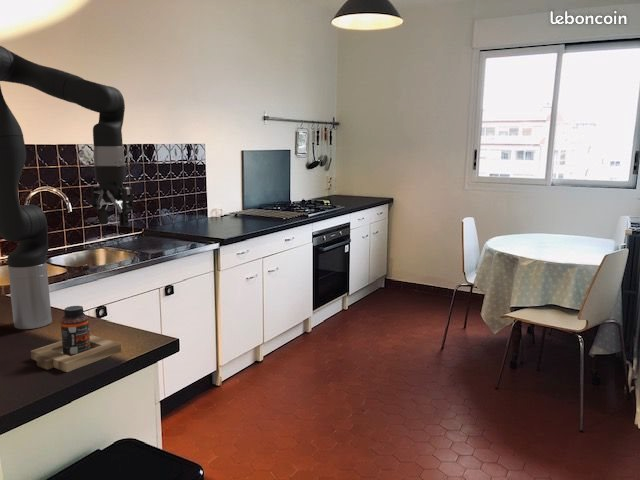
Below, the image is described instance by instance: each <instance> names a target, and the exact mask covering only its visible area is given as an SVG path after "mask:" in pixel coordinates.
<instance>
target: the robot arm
mask: <svg viewBox="0 0 640 480" xmlns="http://www.w3.org/2000/svg"><path fill="white" fill-rule="evenodd" d="M0 82H4V83H14V84H19V85H24V86H27V87H30V88H33V89H36V90H38V91H39V92H41V93H44V94H46V95H48V96H51V97H53V98H57V99H59V100H61V101H62V100H63V101H65V102H69V103H73V104H75V105H78V106H80V107H82V108H83V109H87V110H89V111H93V112H94V113H99V115H98V123H96V124H94V125H93V127H92V138H93V139H92V140H93V155H92V156H93V167H94V168H93V169H94V181H95V182H96V183H98V184H99V185H92V186H91V188H90V189H91V190H90V191H91V207H92V208H94V209H96V210H97V216H98V223H99V225H102V226H103V225H107V224H108V223H109V219H108V218H109V216H108V210H107V209H108V206H109V205H111V204H113V206H114V207H116V208H117V210H118V212H119V213H118V220H119V227H121V228H125V227H128V226H129V224H130V223H129V220H130V219H129V212H130V211H133V210H134V209H135V205H134V194H133V188H132V187H131V186H130V187H129V186H124V184H123V183H125V182H126V181H127V176H126V164H125V162H126V159H125V153H124V148H123V147H124V146H123V131H122V129H123V124H124V117H125V110H126V109H125V108H126V107H125V98H124V96H123V94H122V92H121V91H120V90H119V89H117V88H116V87H114V86H109V85H105V84H102V83H98V82H94V81H91V80H88V79H84V78H83V77H81V76H78V75H76V74H73V73H70V72H67V71H64V70H60V69H58V68H54V67H49V66H45V65H42V64H39V63H35V62H33V61H30V60H28V59H26V58H24V57H22V56H20V55H19V54H16V53H14V52H12V51H11V50H9V49H7V48H6V47H5V46H2V45H0ZM21 127H22V126H20V123H19V122H18V120H17V119H16V117H15V115H14V114H13V112H12V111H11V109H10V107H9V105H8V103H7V101H6V100H5V98H4V95H3V91H2V87H1V85H0V237H1V238H2V239H4V241H6V242H11V243H14V242H15V243H17V242H18V245H17V246H16V247H15V249H14V250H13V251H11V252H10V253H9V254H8V256H7V269H8V279H9V286H10V287H9V288H10V303H11V310H12V321H13V325H14V326H13V327H14V328H15V329H17V330H31V329H38V328H42V327H45V326H48V325H50V324H51V323H52V322H53V318H52V309H51V308H52V307H51V298H50V297H51V296H50V286H49V276H48V266H47V255H48V252H49V231H48V229H49V228H48V219H47V217H46V213H45V212H44V210H42V208H41V207H39V206H38V205H35V204H24V205H21V202H20V198H19V196H20V195H19V183H20V182H19V181H20V180H21V179H20V178H21V175H22V173H23V170H24V168H25V165H26V160H27V150H26V144H25V139H24V133H23V131H22V128H21ZM128 204H129V205H128Z"/></svg>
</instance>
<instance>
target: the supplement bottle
mask: <svg viewBox="0 0 640 480" xmlns="http://www.w3.org/2000/svg"><path fill="white" fill-rule="evenodd" d="M63 313H64V315H63V317H62V318H61V320H60V331H61V333H60V334H61V341H62V346H63V354H66V355H68V356H73V355H76V354H79V353H81V352H84V351H87V350H90V335H91V334H90V325H89V323H90V322H89V317H88V315H86V314H85V313H84V307H83V306H82V305H71V306H66V307H65V308H64V312H63ZM89 334H90V335H89Z"/></svg>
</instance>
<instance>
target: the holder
mask: <svg viewBox="0 0 640 480" xmlns="http://www.w3.org/2000/svg"><path fill="white" fill-rule="evenodd" d="M89 335H90V350H87V351H84V352H81V353H79V354H76V355H73V356H68V355H66V354H63V346H62V340H60V341H57V342H54V343H51V344H48V345H44V346H42V347H38V348H35V349H32V350H30V357H31V358H30V359H31V360H33V361H36V366H37V367H39V368H42V369H45V370H47V371H48V370H51V369H53V368H55V369H57V370H59V371H62V372H64V373H65V372H66V373H69V372H71V371H74V370H77V369H80V368H82V367H84V366H87V365H90V364H93V363H95V362H98V361H101V360H103V359H106V358H108V357H110V356H113V355H116V354H118V353H121V352H122V345H121V344H122V343H119V342H116V341H114V340H109V339H107V338H103V337H99V336H95V335H93V334H90V333H89Z"/></svg>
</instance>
